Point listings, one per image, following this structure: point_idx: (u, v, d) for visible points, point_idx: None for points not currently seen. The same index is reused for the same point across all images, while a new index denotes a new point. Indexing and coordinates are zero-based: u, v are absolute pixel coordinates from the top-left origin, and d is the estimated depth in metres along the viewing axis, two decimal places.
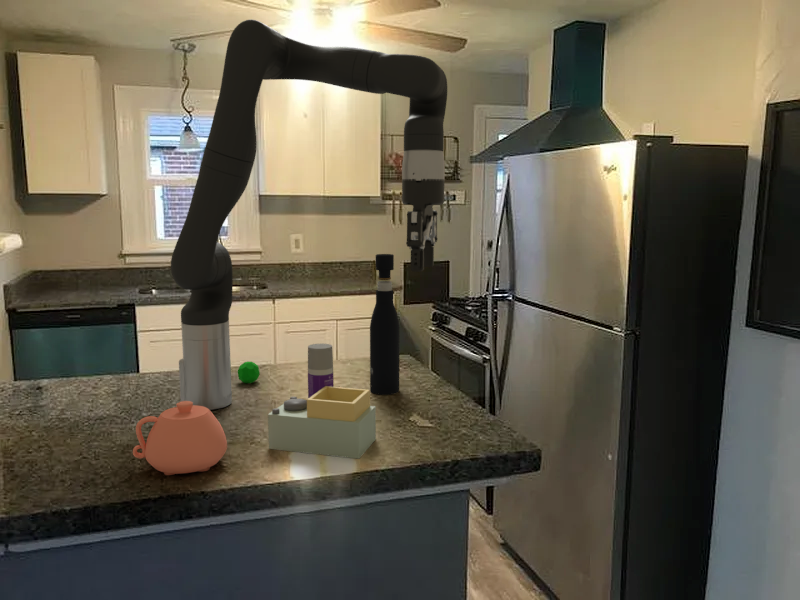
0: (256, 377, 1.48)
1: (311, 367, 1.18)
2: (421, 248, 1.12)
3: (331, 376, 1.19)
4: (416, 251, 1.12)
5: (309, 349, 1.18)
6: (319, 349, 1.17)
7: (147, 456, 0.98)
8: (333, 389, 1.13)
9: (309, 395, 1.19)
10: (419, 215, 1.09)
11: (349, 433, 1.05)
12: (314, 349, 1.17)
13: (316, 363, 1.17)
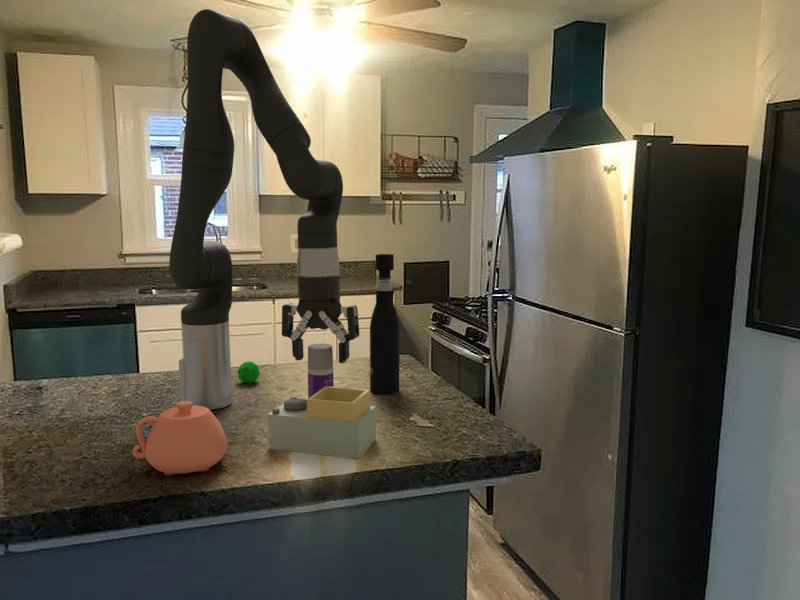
0: (256, 377, 1.48)
1: (311, 367, 1.18)
2: None
3: (331, 376, 1.19)
4: (348, 343, 1.17)
5: (309, 349, 1.18)
6: (319, 349, 1.17)
7: (147, 456, 0.98)
8: (333, 389, 1.13)
9: (309, 395, 1.19)
10: (356, 308, 1.17)
11: (349, 433, 1.05)
12: (314, 349, 1.17)
13: (316, 363, 1.17)
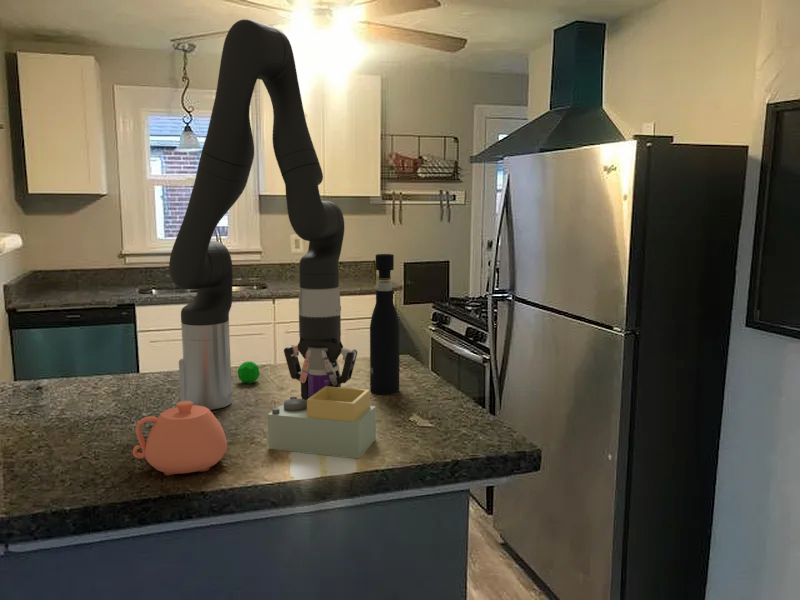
0: (256, 377, 1.48)
1: (311, 367, 1.18)
2: None
3: None
4: (339, 385, 1.19)
5: None
6: (319, 349, 1.17)
7: (147, 456, 0.98)
8: (333, 389, 1.13)
9: (309, 395, 1.19)
10: (356, 354, 1.18)
11: (349, 433, 1.05)
12: (314, 349, 1.17)
13: (316, 363, 1.17)
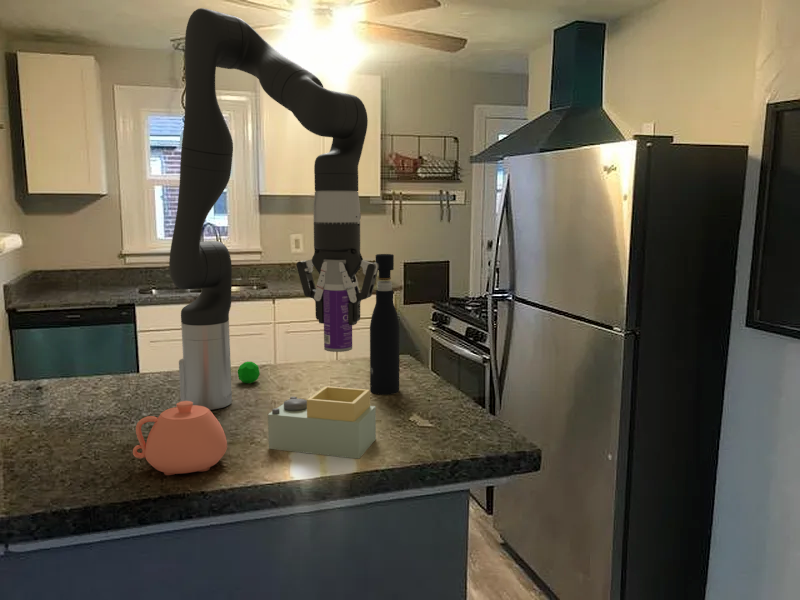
0: (257, 377, 1.48)
1: (327, 282, 1.05)
2: None
3: None
4: (359, 303, 1.06)
5: (325, 261, 1.05)
6: (336, 261, 1.04)
7: (147, 456, 0.98)
8: (333, 389, 1.13)
9: (325, 314, 1.06)
10: (378, 267, 1.05)
11: (349, 433, 1.05)
12: (331, 261, 1.04)
13: (333, 277, 1.04)
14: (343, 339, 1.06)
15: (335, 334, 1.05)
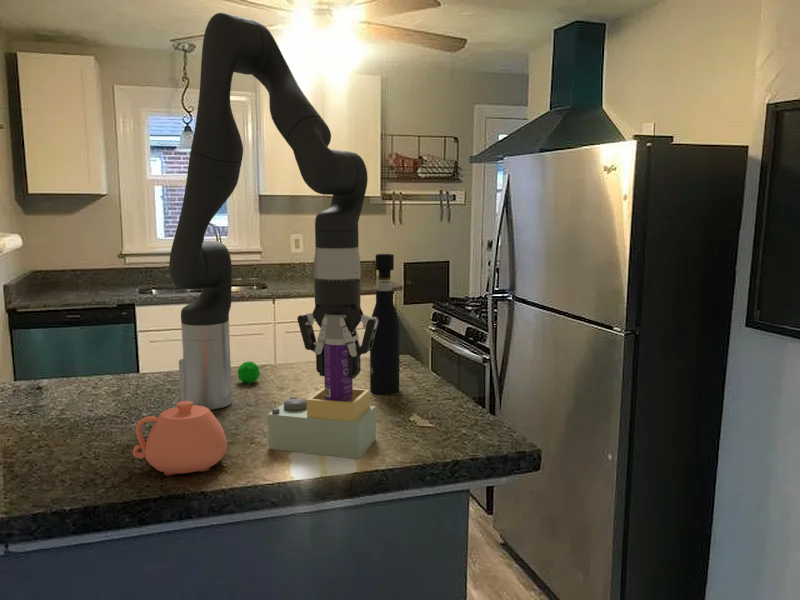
0: (257, 377, 1.48)
1: (327, 336, 1.06)
2: None
3: None
4: (359, 356, 1.07)
5: None
6: (337, 316, 1.05)
7: (147, 456, 0.98)
8: None
9: (325, 367, 1.07)
10: None
11: (349, 433, 1.05)
12: (331, 316, 1.05)
13: (334, 331, 1.05)
14: (344, 392, 1.07)
15: (336, 388, 1.07)
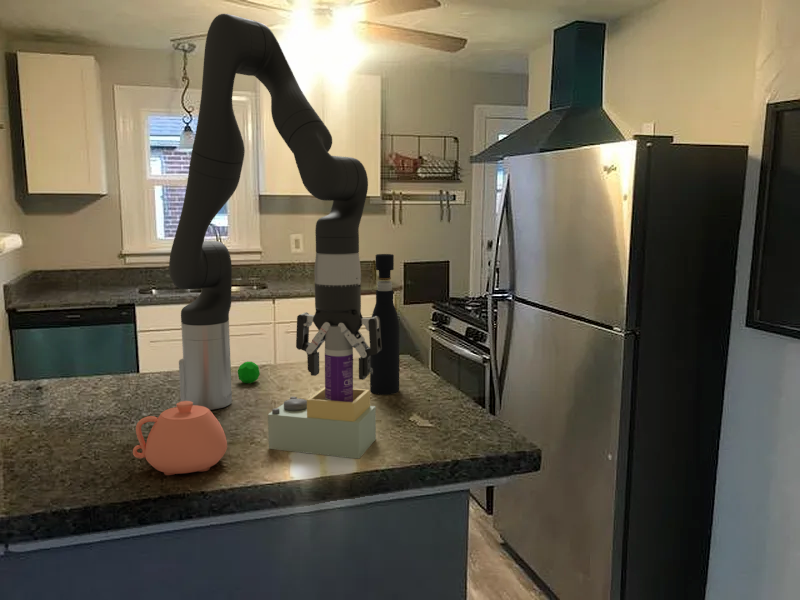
0: (257, 377, 1.48)
1: (328, 348, 1.06)
2: None
3: (351, 357, 1.07)
4: (369, 357, 1.07)
5: None
6: (338, 327, 1.05)
7: (147, 456, 0.98)
8: None
9: (326, 378, 1.08)
10: (379, 320, 1.06)
11: (349, 433, 1.05)
12: (332, 327, 1.05)
13: (335, 343, 1.06)
14: None
15: (336, 399, 1.07)
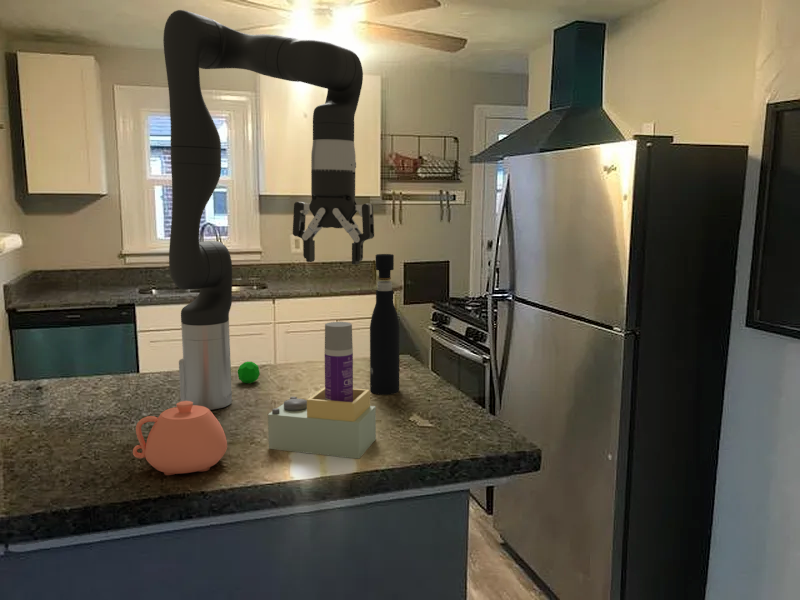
0: (257, 377, 1.48)
1: (328, 348, 1.06)
2: None
3: (350, 357, 1.07)
4: (362, 243, 1.12)
5: (326, 327, 1.06)
6: (338, 327, 1.05)
7: (147, 456, 0.98)
8: None
9: (326, 378, 1.08)
10: (372, 207, 1.11)
11: (349, 433, 1.05)
12: (332, 327, 1.05)
13: (334, 343, 1.06)
14: None
15: (336, 399, 1.07)
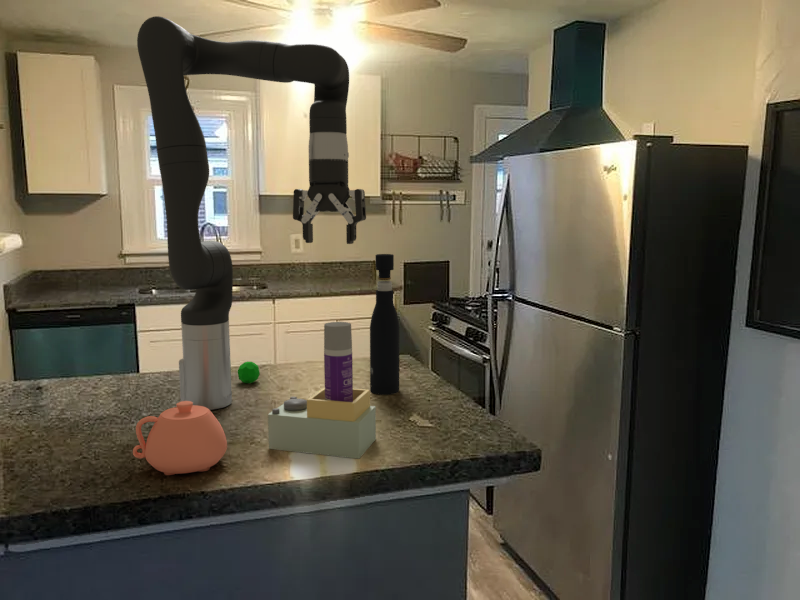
0: (257, 377, 1.48)
1: (328, 348, 1.06)
2: None
3: (350, 357, 1.07)
4: (355, 225, 1.25)
5: (326, 327, 1.06)
6: (337, 327, 1.05)
7: (147, 456, 0.98)
8: None
9: (326, 378, 1.08)
10: (364, 192, 1.24)
11: (349, 433, 1.05)
12: (331, 327, 1.05)
13: (334, 343, 1.06)
14: None
15: (336, 399, 1.07)
